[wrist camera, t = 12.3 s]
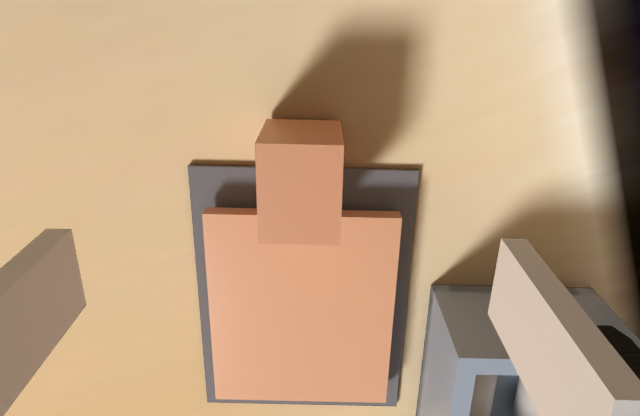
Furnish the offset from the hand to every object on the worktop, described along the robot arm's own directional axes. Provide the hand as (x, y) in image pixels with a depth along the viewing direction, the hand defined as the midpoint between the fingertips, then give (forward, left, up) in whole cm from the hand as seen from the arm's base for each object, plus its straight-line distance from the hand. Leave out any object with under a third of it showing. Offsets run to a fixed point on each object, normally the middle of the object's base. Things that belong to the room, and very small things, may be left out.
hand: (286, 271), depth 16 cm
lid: (+7, 0, -13) cm, 15 cm away
